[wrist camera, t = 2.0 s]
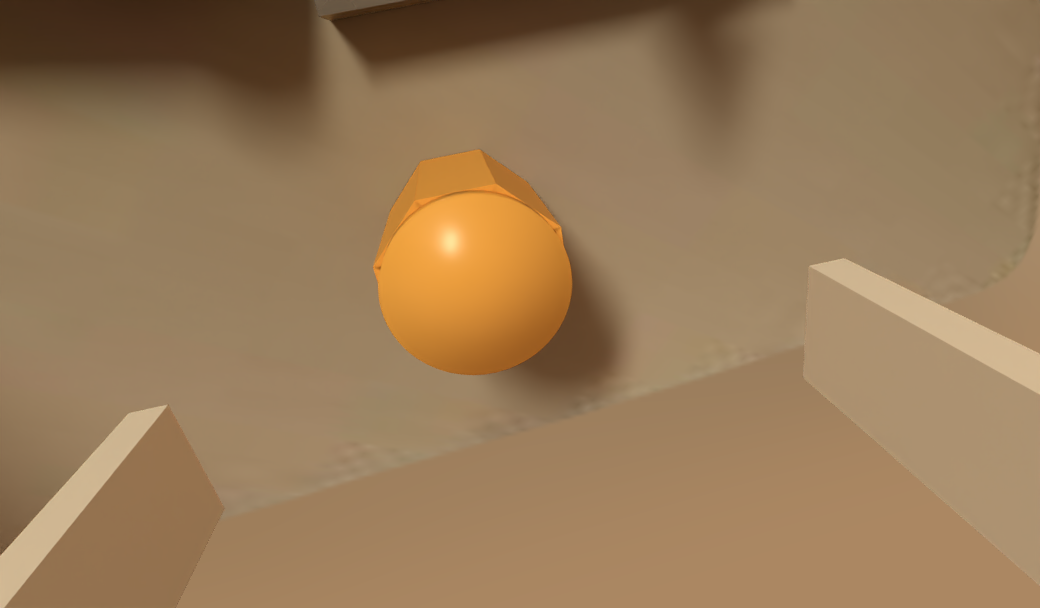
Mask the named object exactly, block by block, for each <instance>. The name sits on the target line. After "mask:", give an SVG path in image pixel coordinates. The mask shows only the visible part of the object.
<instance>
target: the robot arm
mask: <svg viewBox="0 0 1040 608" xmlns="http://www.w3.org/2000/svg"><path fill="white" fill-rule="evenodd" d="M804 352H805V353H804V370H803V378H804V379H805V380H806V381H807V382H808V383H809V384H811V385H812V386H813V387H814V388H815V389H816V390H817V391H818V392H820V393H821V394H822V395H823V396H824V397H825V398H826V399H828V400H829V401H830V402H831V403H832V404H833V405H834V406H836V407H837V408H838V409H839V410H840V411H841V412H842V413H844V414H845V415H846V416H847V417H848V418H849V419H850V420H852V421H853V422H854V423H855V424H856V425H857V426H858V427H859V428H861V429H862V430H863V431H864V432H865V433H866V434H867V435H869V436H870V437H871V438H872V439H873V440H874V441H876V442H877V443H878V444H879V445H880V446H881V447H882V448H883V449H885V450H886V451H887V452H888V453H889V454H890V455H891V456H892V457H894V458H895V459H896V460H897V461H898V462H899V463H900V464H902V465H903V466H904V467H905V468H906V469H908V471H910V472H911V473H912V474H913V475H914V476H915V477H917V478H918V479H919V480H920V481H921V482H922V483H923V484H925V485H926V486H927V487H928V488H929V489H930V490H931V491H932V492H933V493H935V494H936V495H937V496H938V497H939V498H940V499H942V500H943V501H944V502H945V503H946V504H947V505H948V506H949V507H951V508H952V509H953V510H954V511H955V512H956V513H957V514H959V515H960V516H961V517H962V518H963V519H964V520H965V521H966V522H968V523H969V524H970V525H971V526H972V527H973V528H975V529H976V530H977V531H978V532H979V533H980V534H981V535H982V536H984V537H985V538H986V539H987V540H988V541H989V542H990V543H992V544H993V545H994V546H995V547H996V548H997V549H999V550H1000V551H1001V552H1002V553H1003V554H1004V555H1005V556H1006V557H1007V558H1009V559H1010V560H1011V561H1012V562H1014V564H1015V565H1017V566H1018V567H1019V568H1020V569H1021V570H1022V571H1023V572H1025V573H1026V574H1027V575H1028V576H1029V577H1030V578H1031V579H1033V580H1034V581H1035V582H1036V583H1037V584H1038V585H1039V586H1040V354H1039V353H1037V352H1035V351H1033V350H1031V349H1029V348H1027V347H1025V346H1023V345H1020V344H1019V343H1016V342H1014V341H1012V340H1010V339H1008V338H1006V337H1004V336H1002V335H1000V334H998V333H996V332H994V331H992V330H990V329H988V328H986V327H983V326H981V325H980V324H977V323H975V322H974V321H971V320H969V319H967V318H965V317H963V316H961V315H959V314H957V313H955V312H953V311H951V310H949V309H947V308H945V307H943V306H941V305H939V304H937V303H935V302H933V301H931V300H929V299H926V298H924V297H922V296H920V295H918V294H916V293H914V292H912V291H910V290H908V289H906V288H904V287H902V286H900V285H898V284H896V283H894V282H892V281H890V280H888V279H886V278H883V277H881V276H879V275H877V274H875V273H873V272H871V271H869V270H867V269H865V268H863V267H861V266H859V265H857V264H855V263H853V262H851V261H849V260H847V259H845V258H844V259H839V260H835V261H830V262H825V263H821V264H816V265H811V266H809V274H808V293H807V313H806V332H805V351H804ZM224 509H225V508H224V506H223V505H222V503H221V501H220V499H219V497H218V495H217V494H216V492H215V490H214V488H213V486H212V484H211V482H210V481H209V479H208V477H207V475H206V473H205V471H204V470H203V468H202V466H201V464H200V462H199V460H198V459H197V457H196V455H195V453H194V451H193V449H192V447H191V446H190V444H189V442H188V440H187V438H186V436H185V435H184V433H183V431H182V429H181V427H180V425H179V424H178V422H177V420H176V418H175V416H174V414H173V412H172V411H171V409H170V407H169V405H165V406H160V407H155V408H151V409H146V410H141V411H137V412H132V413H129V414H128V415H127V416H126V417H125V418H124V419H123V420H122V421H121V422H120V424H119V425H118V426H117V427H116V428H115V429H114V430H113V431H112V432H111V434H110V435H109V436H108V437H107V438H106V439H105V440H104V441H103V442H102V444H101V445H100V446H99V447H98V448H97V449H96V450H95V451H94V452H93V454H92V455H91V456H90V457H89V458H88V459H87V460H86V461H85V462H84V464H83V465H82V466H81V467H80V468H79V469H78V470H77V471H76V472H75V474H74V475H73V476H72V477H71V478H70V479H69V480H68V481H67V482H66V483H65V485H64V486H63V487H62V488H61V489H60V490H59V491H58V492H57V493H56V495H55V496H54V497H53V498H52V499H51V500H50V501H49V502H48V503H47V505H46V506H45V507H44V508H43V509H42V510H41V511H40V512H39V513H38V515H37V516H36V517H35V518H34V519H33V520H32V521H31V522H30V523H29V525H28V526H27V527H26V528H25V529H24V530H23V531H22V532H21V533H20V535H19V536H18V537H17V538H16V539H15V540H14V541H13V542H12V543H11V545H10V546H9V547H8V548H7V549H6V550H5V551H4V552H3V553H2V555H1V556H0V608H176V606H177V604H178V602H179V600H180V598H181V596H182V594H183V591H184V590H185V588H186V586H187V583H188V581H189V579H190V577H191V575H192V573H193V571H194V569H195V567H196V565H197V563H198V561H199V559H200V557H201V555H202V553H203V551H204V549H205V547H206V545H207V543H208V541H209V539H210V537H211V535H212V533H213V531H214V529H215V526H216V525H217V523H218V521H219V519H220V517H221V515H222V513H223V511H224Z"/></svg>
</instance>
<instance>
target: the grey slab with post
mask: <svg viewBox="0 0 1040 608" xmlns="http://www.w3.org/2000/svg"><path fill="white" fill-rule="evenodd" d="M432 1H438V0H314V2H315V5H316V9H317V12H318V15H319V17H321V18H324V19H327V20H330V21H331V20H336V19H342V18H347V17H352V16H358V15H363V14H368V13H374V12H379V11H384V10H390V9H395V8H400V7H406V6H411V5H416V4H422V3H427V2H432Z"/></svg>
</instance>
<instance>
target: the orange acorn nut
mask: <svg viewBox="0 0 1040 608" xmlns="http://www.w3.org/2000/svg"><path fill="white" fill-rule="evenodd" d="M373 268H374V272H375V275H376V278H377V281H378V292H379V302H380V306H381V310H382V313H383V316H384V319H385V321H386V324H387V325H388V327H389V329H390V331H391V332H392V334H393V335H394V337H395V338H396V339H397V340H398V342H399V343H400V344H401V345H402V346H403V347H404V348H405V349H406V350H407V351H408V352H409V353H411V354H412V355H413V356H415V357H416V358H417V359H419V360H421V361H422V362H424V363H426V364H428V365H430V366H432V367H435V368H437V369H440V370H443V371H447V372H450V373H456V374H464V375H482V374H490V373H496V372H499V371H503V370H506V369H509V368H512V367H514V366H516V365H519V364H520V363H522V362H524V361H526V360H528V359H529V358H531V357H532V356H534V355H535V354H536V353H538V352H539V351H540V350H541V349H542V348H543V347H544V346H545V345H547V343H548V342H549V341H550V340H551V339H552V338H553V336H554V335H555V334H556V332H557V331H558V329H559V328H560V326H561V324H562V322H563V320H564V318H565V316H566V313H567V310H568V308H569V304H570V299H571V294H572V272H571V267H570V262H569V259H568V256H567V253H566V250H565V248H564V244H563V238H562V231H561V227H560V225H559V224H558V223H557V221H556V220H555V218H554V217H553V216H552V214H551V213H550V212H549V210H548V209H547V208H546V206H545V205H544V204H543V202H542V201H541V200H540V198H539V197H538V196H537V194H536V193H535V192H534V190H533V189H532V188H531V186H530V185H529V184H528V182H527V181H525V180H524V179H522V178H521V177H519V176H518V175H516V174H515V173H513V172H512V171H510V170H509V169H508V168H506V167H505V166H503V165H502V164H500V163H499V162H497V161H496V160H494V159H493V158H491V157H490V156H489V155H487V154H486V153H484V152H483V151H481V150H479V149H478V150H473V151H468V152H464V153H459V154H454V155H449V156H444V157H439V158H434V159H429V160H424V161H420V163H419V165H418V166H417V168H416V170H415V171H414V173H413V174H412V176H411V178H410V179H409V181H408V183H407V184H406V186H405V187H404V189H403V191H402V192H401V194H400V196H399V197H398V199H397V201H396V202H395V204H394V205H393V207H392V209H391V210H390V213H389V217H388V220H387V223H386V226H385V230H384V233H383V236H382V240H381V243H380V246H379V249H378V253H377V256H376V259H375V263H374V266H373Z"/></svg>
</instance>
